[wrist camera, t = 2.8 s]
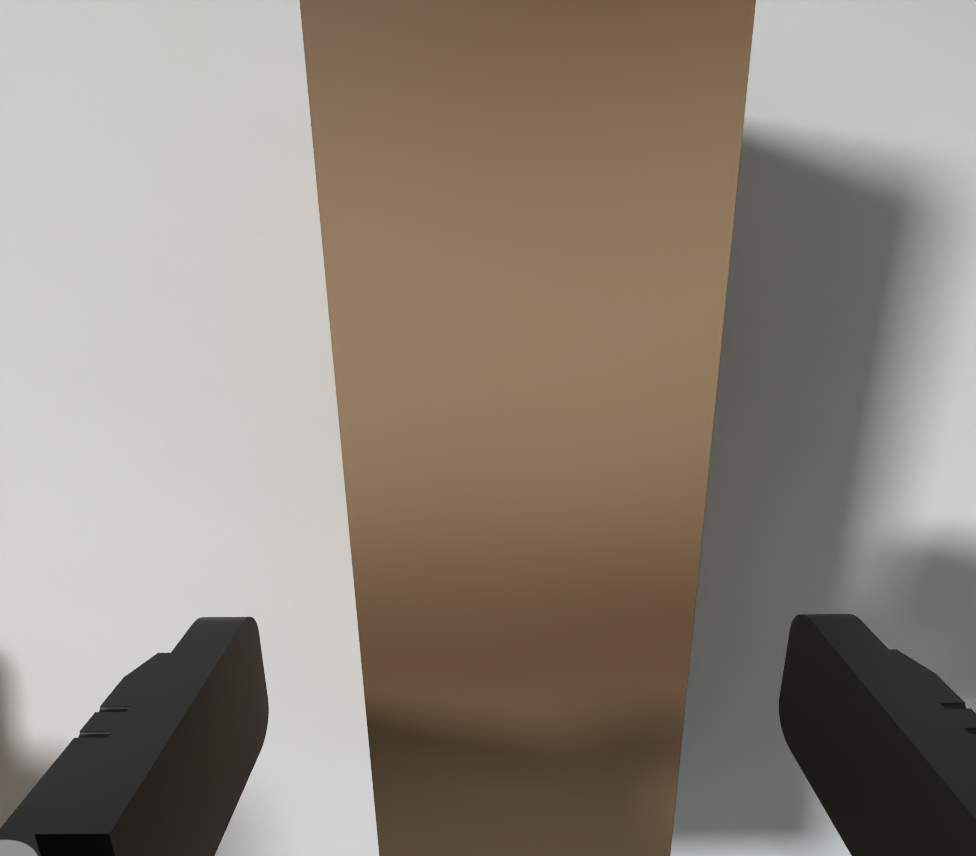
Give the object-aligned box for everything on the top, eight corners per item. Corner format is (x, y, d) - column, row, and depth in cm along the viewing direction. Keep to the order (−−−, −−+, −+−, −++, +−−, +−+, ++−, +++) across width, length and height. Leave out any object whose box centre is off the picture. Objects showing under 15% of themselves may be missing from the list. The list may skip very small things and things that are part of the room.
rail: (380, 97, 11) (273, -33, 5) (629, 93, 11) (782, -40, 5) (423, 795, 16) (391, 1109, 10) (595, 791, 16) (657, 1102, 10)
